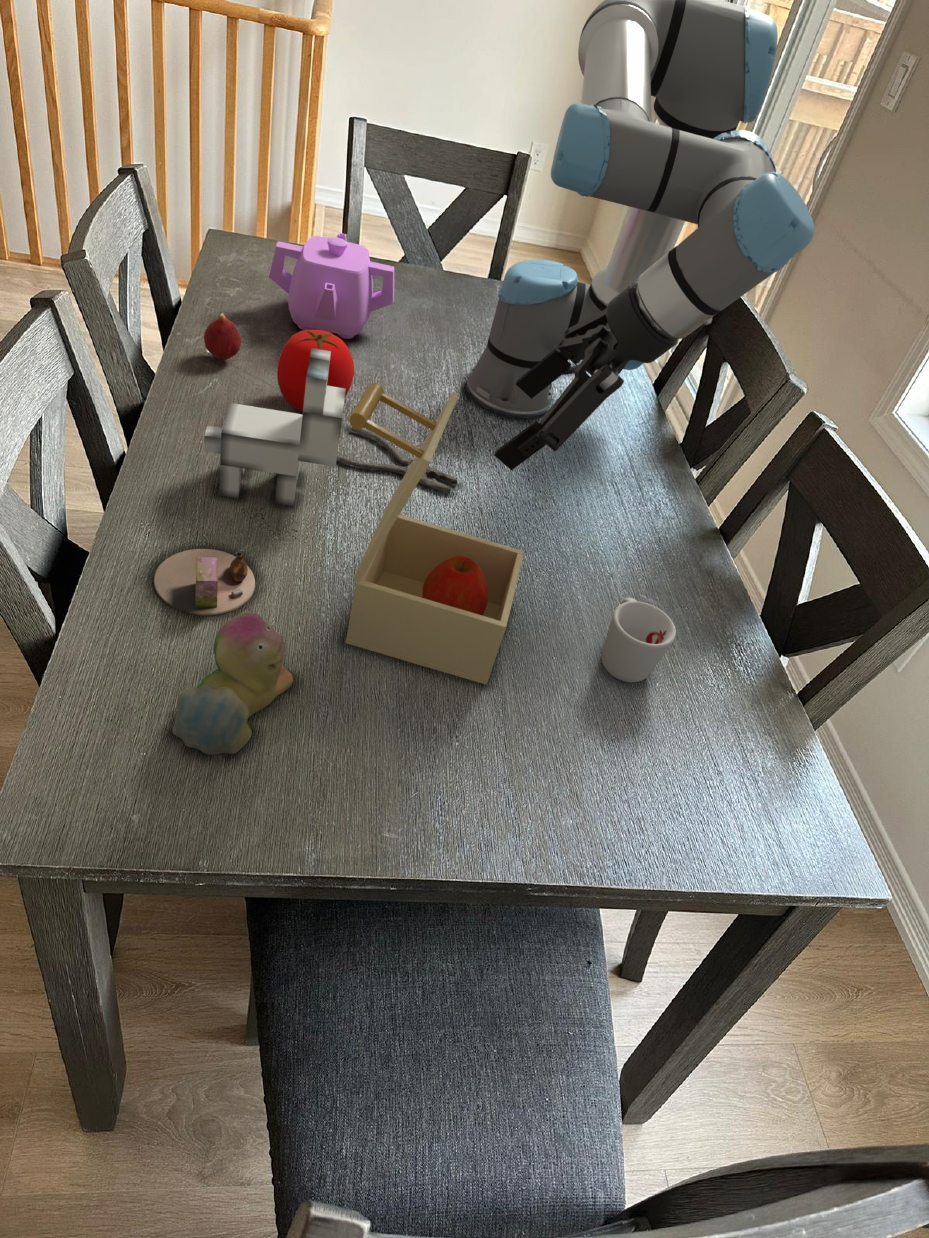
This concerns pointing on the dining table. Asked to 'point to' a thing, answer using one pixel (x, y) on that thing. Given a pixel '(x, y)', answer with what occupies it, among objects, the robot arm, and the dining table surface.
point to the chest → (427, 629)
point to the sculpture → (233, 686)
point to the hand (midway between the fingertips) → (513, 424)
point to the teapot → (331, 284)
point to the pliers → (400, 469)
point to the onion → (222, 338)
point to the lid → (422, 454)
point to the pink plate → (204, 582)
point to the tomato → (297, 363)
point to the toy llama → (280, 435)
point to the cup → (636, 640)
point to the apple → (457, 585)
